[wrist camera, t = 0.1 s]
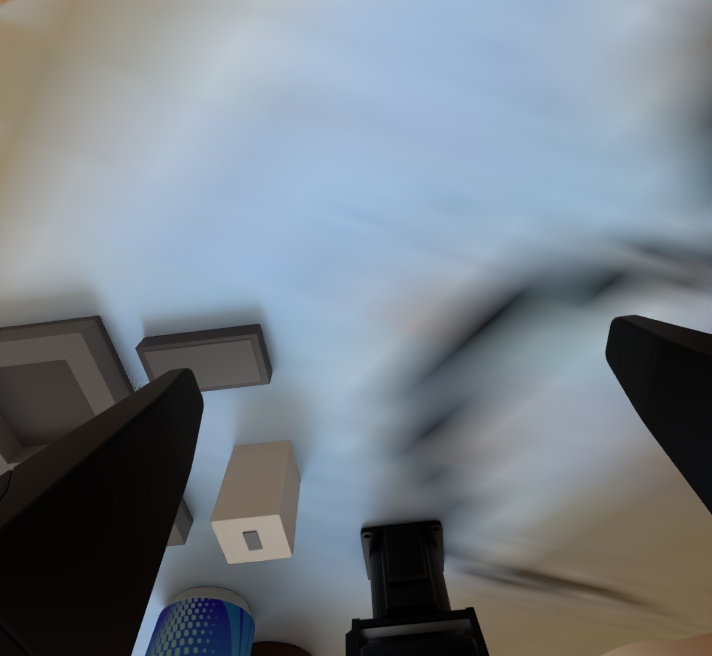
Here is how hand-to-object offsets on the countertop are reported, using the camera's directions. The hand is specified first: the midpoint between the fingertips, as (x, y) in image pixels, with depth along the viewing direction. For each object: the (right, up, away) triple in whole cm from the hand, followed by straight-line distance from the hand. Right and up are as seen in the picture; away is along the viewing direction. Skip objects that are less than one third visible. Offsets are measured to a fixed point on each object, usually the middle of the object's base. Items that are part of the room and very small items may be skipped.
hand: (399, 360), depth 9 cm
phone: (-10, -1, +17) cm, 19 cm away
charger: (-7, -9, +21) cm, 24 cm away
